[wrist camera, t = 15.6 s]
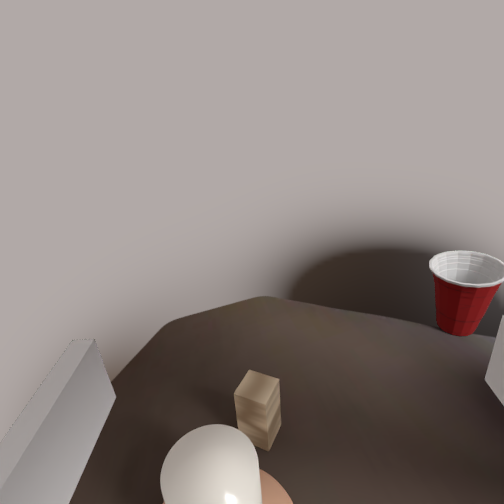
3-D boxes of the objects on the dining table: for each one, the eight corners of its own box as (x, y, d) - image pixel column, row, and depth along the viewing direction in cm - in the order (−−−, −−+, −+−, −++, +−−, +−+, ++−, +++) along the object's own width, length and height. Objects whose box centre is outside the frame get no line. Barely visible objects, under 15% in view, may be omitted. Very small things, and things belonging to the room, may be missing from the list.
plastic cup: (406, 312, 65) (415, 254, 59) (460, 303, 66) (473, 245, 61) (446, 352, 55) (460, 287, 50) (507, 340, 56) (528, 275, 51)
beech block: (281, 424, 46) (279, 379, 42) (268, 451, 42) (265, 404, 39) (253, 414, 47) (249, 369, 44) (239, 439, 44) (233, 393, 41)
